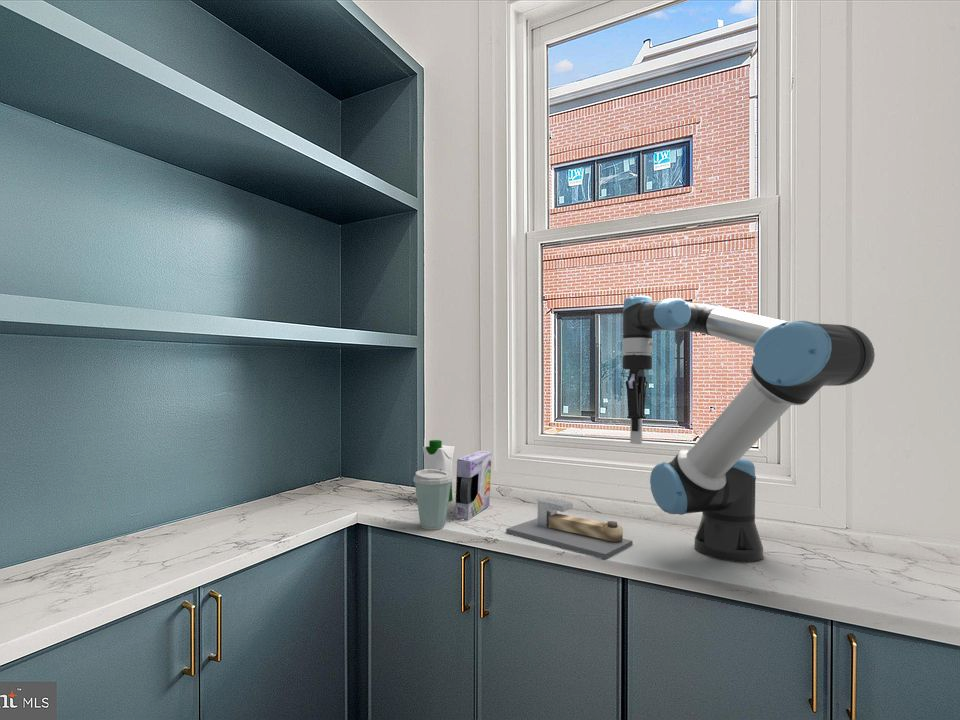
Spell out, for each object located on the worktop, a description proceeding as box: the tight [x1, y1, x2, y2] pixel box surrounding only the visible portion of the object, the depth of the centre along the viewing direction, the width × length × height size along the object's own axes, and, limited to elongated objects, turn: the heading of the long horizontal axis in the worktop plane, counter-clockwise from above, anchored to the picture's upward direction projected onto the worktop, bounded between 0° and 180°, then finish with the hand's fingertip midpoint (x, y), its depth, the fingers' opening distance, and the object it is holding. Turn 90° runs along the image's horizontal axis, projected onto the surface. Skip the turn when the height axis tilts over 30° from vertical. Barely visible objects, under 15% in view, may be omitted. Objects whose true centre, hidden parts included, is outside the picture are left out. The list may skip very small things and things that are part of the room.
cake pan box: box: [454, 450, 493, 521], centre depth 162 cm, size 19×5×18 cm, turn 159°
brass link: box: [549, 512, 624, 542], centre depth 138 cm, size 20×5×4 cm, turn 53°
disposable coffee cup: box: [412, 469, 453, 531], centre depth 146 cm, size 11×11×15 cm
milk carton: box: [422, 439, 456, 503], centre depth 176 cm, size 9×9×20 cm
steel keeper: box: [536, 497, 574, 527], centre depth 145 cm, size 8×5×8 cm, turn 49°
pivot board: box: [505, 518, 634, 560], centre depth 137 cm, size 29×14×1 cm, turn 49°
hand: (636, 443), depth 142 cm, fingers closed
